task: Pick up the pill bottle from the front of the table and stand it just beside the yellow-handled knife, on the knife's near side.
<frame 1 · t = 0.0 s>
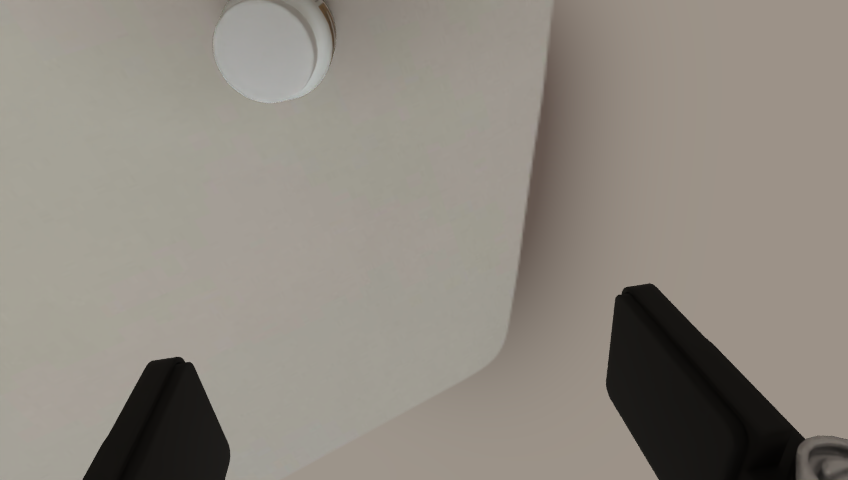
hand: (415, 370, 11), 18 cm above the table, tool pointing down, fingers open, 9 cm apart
pill bottle: (291, 31, 24), on the table
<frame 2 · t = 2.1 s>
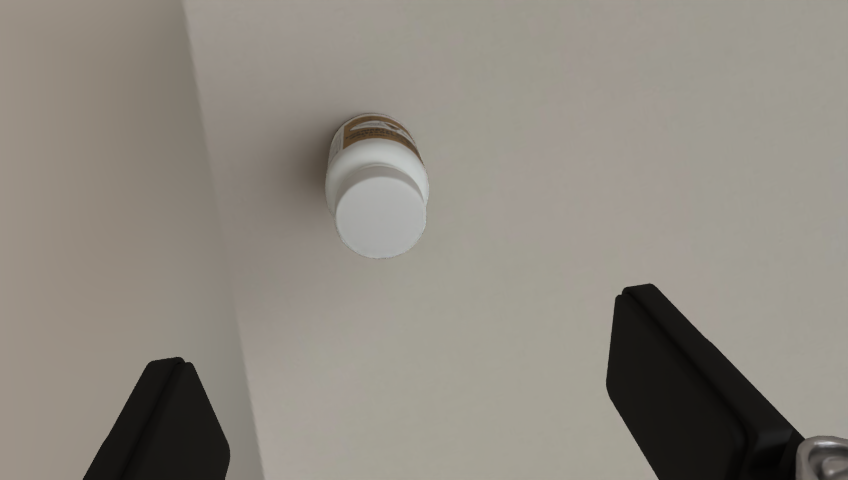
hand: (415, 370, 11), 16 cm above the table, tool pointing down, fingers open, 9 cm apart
pill bottle: (373, 153, 25), on the table
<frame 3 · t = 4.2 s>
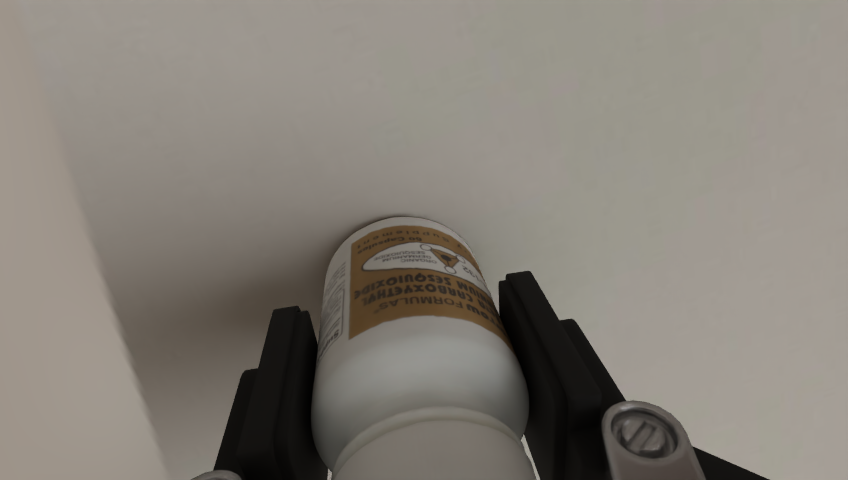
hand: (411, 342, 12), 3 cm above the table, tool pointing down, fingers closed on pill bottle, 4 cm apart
pill bottle: (401, 276, 14), on the table, touching gripper
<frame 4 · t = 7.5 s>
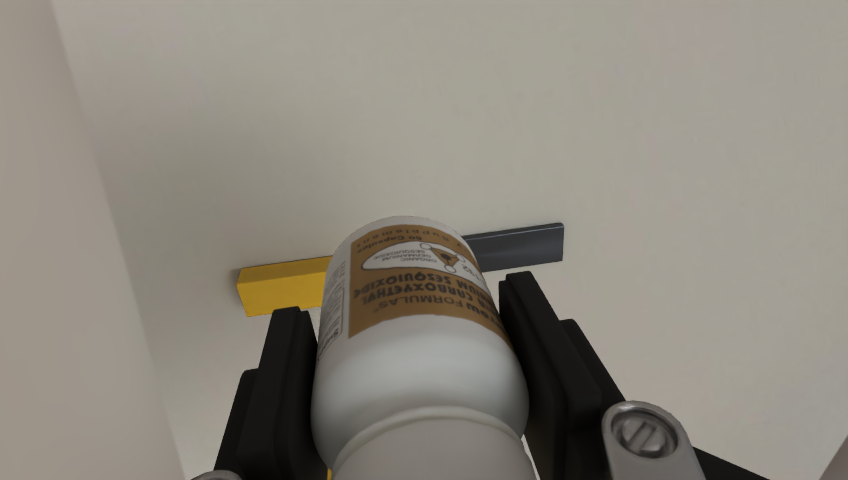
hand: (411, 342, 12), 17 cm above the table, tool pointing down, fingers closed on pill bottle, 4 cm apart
pill bottle: (401, 275, 14), point 14 cm above the table, touching gripper
knife: (406, 261, 31), on the table
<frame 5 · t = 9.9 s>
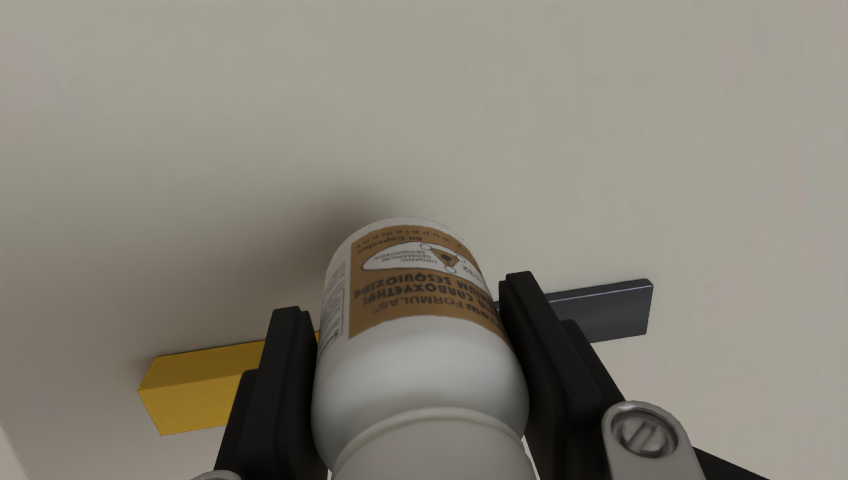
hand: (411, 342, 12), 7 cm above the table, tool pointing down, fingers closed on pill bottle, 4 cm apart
pill bottle: (401, 276, 14), point 4 cm above the table, touching gripper
knife: (411, 340, 20), on the table
when the fingers open (3 cm above the table, at t = 11.2 s): pill bottle stays where it is, on the table.
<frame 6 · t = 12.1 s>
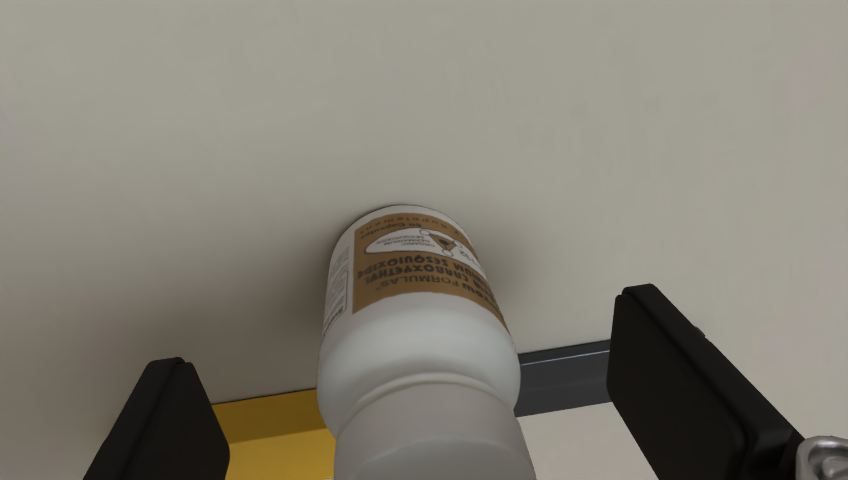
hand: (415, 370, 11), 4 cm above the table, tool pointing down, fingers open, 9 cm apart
pill bottle: (402, 263, 15), on the table
knife: (424, 396, 17), on the table
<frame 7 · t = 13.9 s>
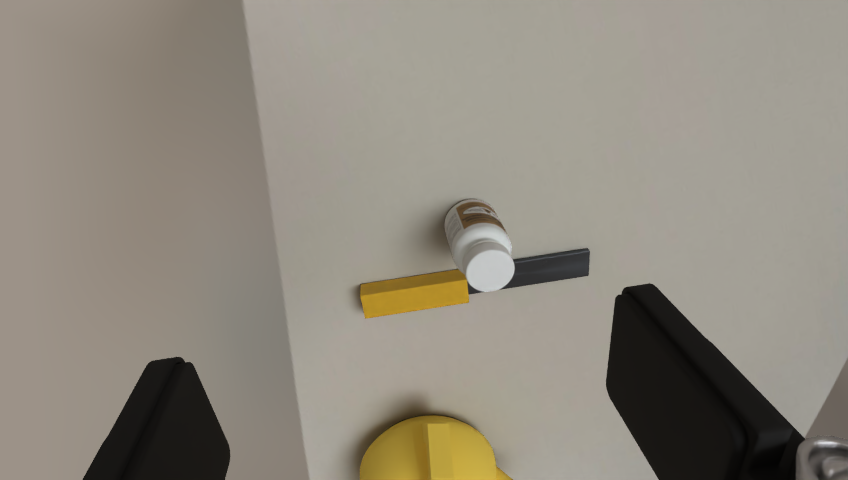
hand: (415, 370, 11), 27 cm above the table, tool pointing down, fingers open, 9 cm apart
teapot: (444, 450, 53), on the table
pill bottle: (469, 221, 40), on the table
knife: (475, 277, 43), on the table
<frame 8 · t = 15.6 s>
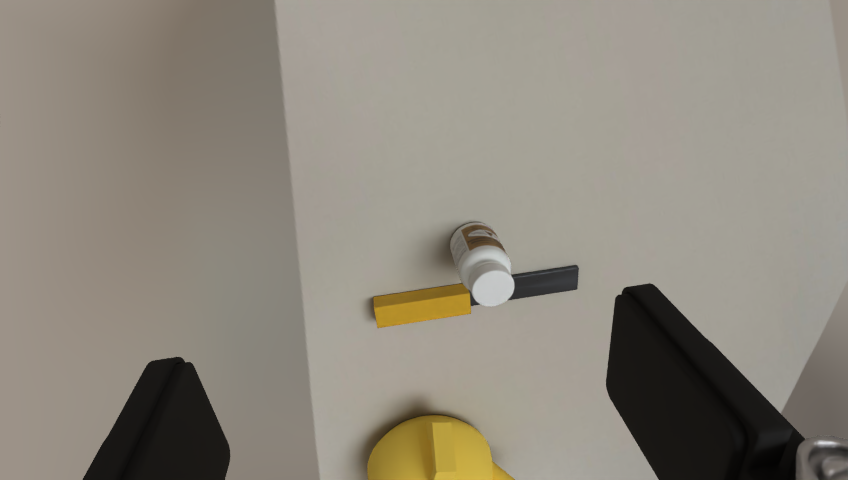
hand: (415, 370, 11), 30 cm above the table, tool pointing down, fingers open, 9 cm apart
teapot: (444, 447, 58), on the table
pill bottle: (472, 241, 45), on the table
knife: (476, 291, 47), on the table
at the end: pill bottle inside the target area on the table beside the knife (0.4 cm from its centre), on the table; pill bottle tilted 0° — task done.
